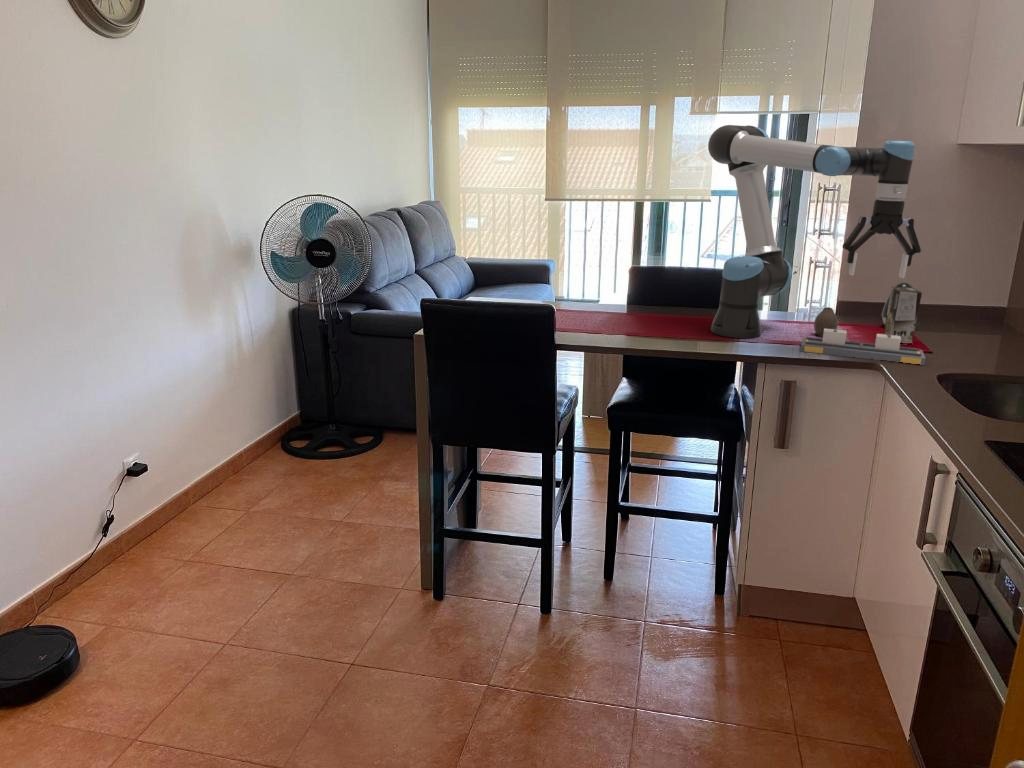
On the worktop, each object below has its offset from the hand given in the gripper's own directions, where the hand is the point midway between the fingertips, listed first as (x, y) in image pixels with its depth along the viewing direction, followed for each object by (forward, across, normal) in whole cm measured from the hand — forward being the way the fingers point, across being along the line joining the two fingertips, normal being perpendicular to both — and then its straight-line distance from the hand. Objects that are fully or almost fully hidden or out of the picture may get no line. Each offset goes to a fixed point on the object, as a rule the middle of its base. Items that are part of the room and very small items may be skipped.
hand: (876, 276), depth 213 cm
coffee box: (+22, +14, +14) cm, 30 cm away
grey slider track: (+22, -2, -5) cm, 22 cm away
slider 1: (+20, -10, -3) cm, 22 cm away
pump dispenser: (+22, +20, +33) cm, 45 cm away
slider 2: (+20, +4, -7) cm, 21 cm away
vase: (+22, -7, +17) cm, 28 cm away
